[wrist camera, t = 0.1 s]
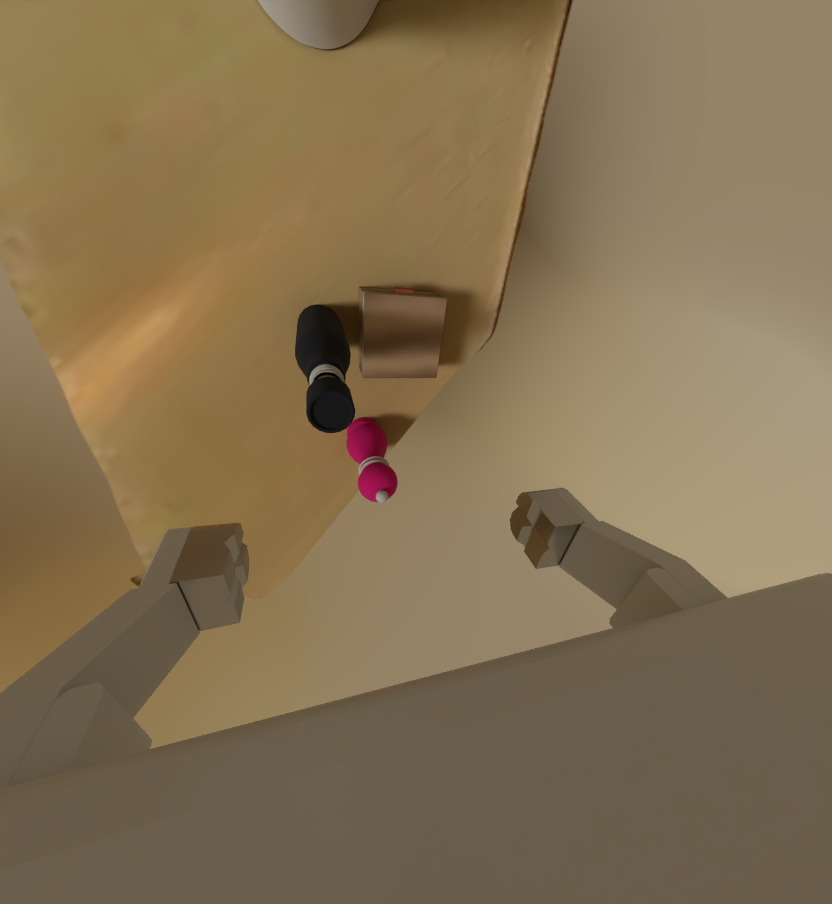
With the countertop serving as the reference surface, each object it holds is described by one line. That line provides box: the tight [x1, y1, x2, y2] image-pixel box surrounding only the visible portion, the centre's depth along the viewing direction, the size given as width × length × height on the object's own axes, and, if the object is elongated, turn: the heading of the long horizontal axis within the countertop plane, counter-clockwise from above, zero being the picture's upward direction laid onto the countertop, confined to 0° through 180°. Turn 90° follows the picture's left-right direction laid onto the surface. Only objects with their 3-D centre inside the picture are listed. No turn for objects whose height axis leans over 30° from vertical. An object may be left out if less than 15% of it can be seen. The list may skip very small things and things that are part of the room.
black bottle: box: [295, 305, 355, 433], centre depth 38 cm, size 6×6×30 cm
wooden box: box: [359, 287, 447, 378], centre depth 51 cm, size 13×13×6 cm
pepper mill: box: [347, 418, 397, 502], centre depth 55 cm, size 7×7×20 cm
